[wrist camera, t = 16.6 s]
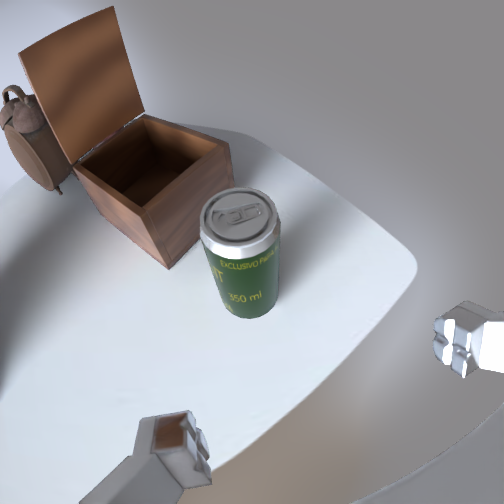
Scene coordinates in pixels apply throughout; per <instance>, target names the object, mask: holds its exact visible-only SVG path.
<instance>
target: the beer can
mask: <svg viewBox="0 0 504 504" xmlns="http://www.w3.org/2000/svg"><path fill="white" fill-rule="evenodd" d="M280 224H281V222H280V219H279V216H278V213H277V210H276V207H275V204H274V202H273V201H272V200H271V199H270V197H269V196H267V195H266V194H264V193H263V192H261V191H259V190H256V189H252V188H246V187H236V188H231V189H226V190H224V191H222V192H219V193H217V194H216V195H214V196H213V197H212V198H210V199H209V200H208V201H207V203H206V204H205V205H204V207H203V208H202V211H201V215H200V226H199V228H200V237H201V240H202V243H203V246H204V249H205V252H206V255H207V258H208V261H209V264H210V267H211V270H212V273H213V276H214V279H215V281H216V284H217V287H218V290H219V293H220V296H221V298H222V301H223V303H224V305H225V307H226V309H228V310H229V311H230V312H231V313H232V314H233V315H236V316H238V317H240V318H247V319H252V318H257V317H260V316H262V315H264V314H266V313H268V312H269V311H270V310H271V309H272V308H273V307H274V305H275V302H276V300H277V296H278V281H279V255H280Z"/></svg>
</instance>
